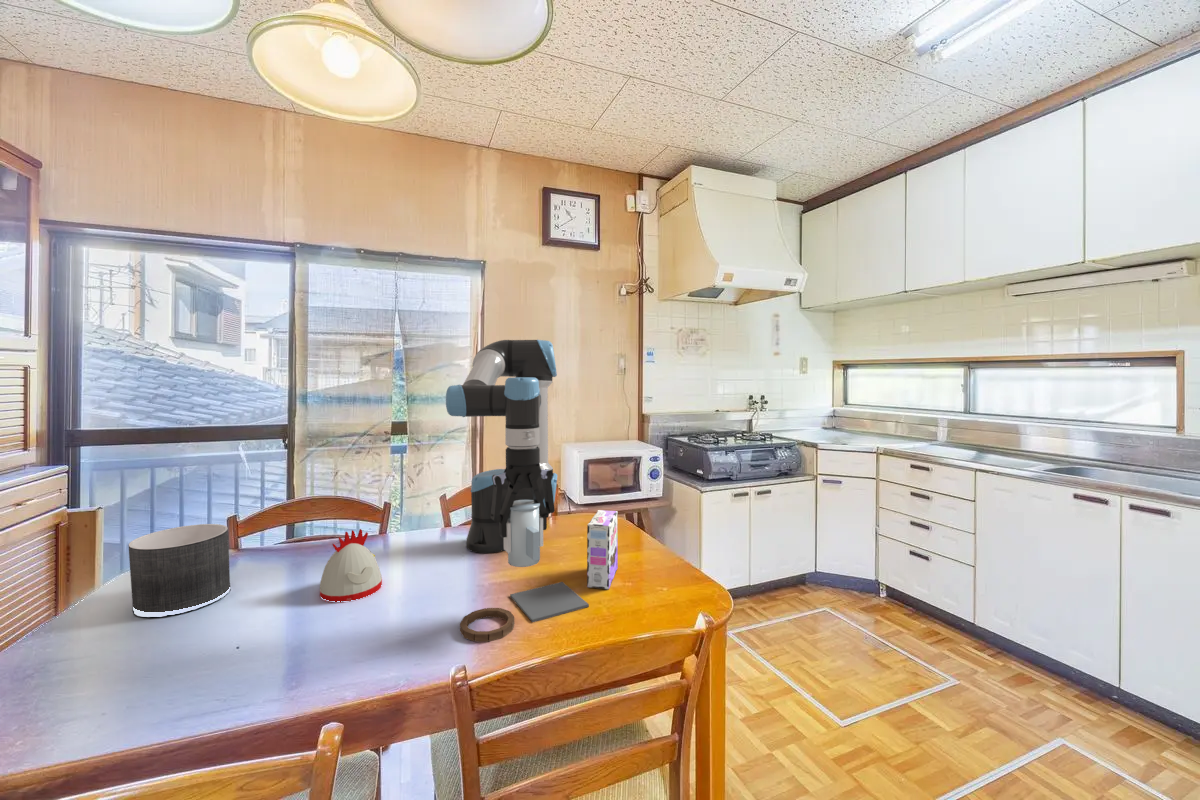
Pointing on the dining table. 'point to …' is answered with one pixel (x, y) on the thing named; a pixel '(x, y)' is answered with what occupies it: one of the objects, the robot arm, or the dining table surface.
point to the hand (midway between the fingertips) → (523, 547)
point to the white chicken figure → (350, 571)
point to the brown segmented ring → (487, 635)
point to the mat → (548, 601)
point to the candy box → (602, 549)
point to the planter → (179, 567)
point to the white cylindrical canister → (524, 533)
